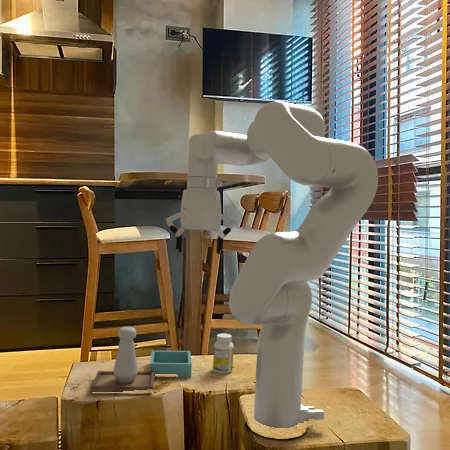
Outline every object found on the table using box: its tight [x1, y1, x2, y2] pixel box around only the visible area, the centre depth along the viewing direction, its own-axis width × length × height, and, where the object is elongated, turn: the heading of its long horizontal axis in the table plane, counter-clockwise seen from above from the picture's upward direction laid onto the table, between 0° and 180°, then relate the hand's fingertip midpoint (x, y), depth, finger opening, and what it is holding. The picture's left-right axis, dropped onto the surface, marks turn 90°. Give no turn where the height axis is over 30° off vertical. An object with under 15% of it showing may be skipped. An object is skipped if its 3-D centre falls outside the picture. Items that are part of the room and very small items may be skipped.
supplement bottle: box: [212, 333, 235, 375], centre depth 131 cm, size 5×5×10 cm
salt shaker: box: [112, 326, 139, 384], centre depth 117 cm, size 6×6×13 cm
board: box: [90, 370, 155, 393], centre depth 117 cm, size 14×10×2 cm
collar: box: [149, 350, 193, 378], centre depth 129 cm, size 11×11×4 cm
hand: (199, 252), depth 122 cm, fingers open, 9 cm apart
